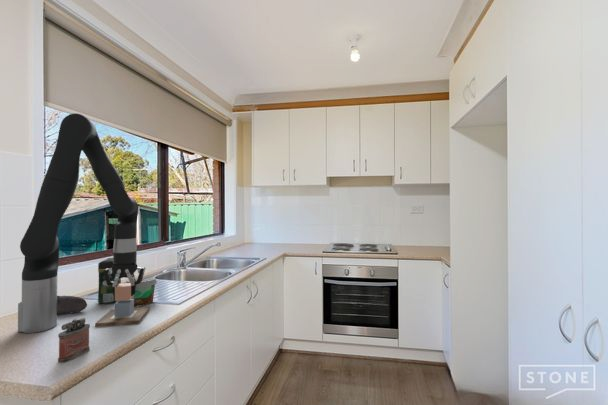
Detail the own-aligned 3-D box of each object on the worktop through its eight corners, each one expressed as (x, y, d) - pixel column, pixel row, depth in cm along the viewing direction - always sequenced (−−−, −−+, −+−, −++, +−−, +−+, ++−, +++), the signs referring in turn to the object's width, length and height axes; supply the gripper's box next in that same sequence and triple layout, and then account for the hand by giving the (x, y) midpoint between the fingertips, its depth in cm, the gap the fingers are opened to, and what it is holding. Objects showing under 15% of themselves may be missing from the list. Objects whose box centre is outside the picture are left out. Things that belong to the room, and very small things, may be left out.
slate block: (114, 317, 111) (114, 303, 111) (119, 312, 116) (119, 299, 116) (129, 316, 112) (129, 302, 112) (133, 311, 117) (134, 298, 117)
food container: (120, 308, 124) (120, 283, 124) (125, 303, 130) (125, 280, 130) (153, 305, 127) (153, 282, 127) (156, 301, 133) (156, 278, 133)
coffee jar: (103, 298, 137) (104, 256, 137) (123, 296, 139) (123, 256, 139) (94, 305, 127) (95, 260, 127) (116, 303, 129) (116, 260, 129)
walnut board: (95, 326, 105) (95, 323, 105) (110, 312, 119) (110, 309, 119) (139, 323, 108) (139, 319, 108) (149, 310, 122) (149, 306, 122)
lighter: (83, 348, 90) (84, 314, 90) (92, 350, 89) (93, 315, 89) (54, 361, 82) (55, 324, 82) (63, 363, 81) (64, 326, 81)
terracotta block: (114, 300, 111) (114, 287, 111) (119, 296, 116) (119, 283, 116) (129, 299, 112) (130, 286, 112) (134, 295, 117) (134, 282, 117)
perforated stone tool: (89, 309, 122) (89, 292, 122) (83, 314, 117) (83, 296, 117) (46, 312, 119) (46, 294, 119) (37, 317, 113) (38, 298, 114)
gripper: (148, 248, 119) (148, 291, 119) (107, 249, 116) (107, 294, 116) (143, 251, 112) (142, 297, 112) (99, 252, 108) (98, 300, 108)
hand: (124, 295), depth 114 cm, fingers closed on terracotta block, 4 cm apart
